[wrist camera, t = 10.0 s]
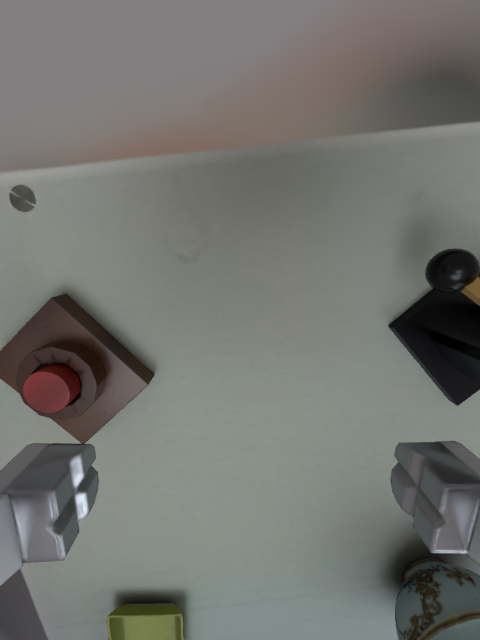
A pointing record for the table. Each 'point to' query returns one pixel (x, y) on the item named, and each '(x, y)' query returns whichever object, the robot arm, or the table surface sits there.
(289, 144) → the table surface
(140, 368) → the button block
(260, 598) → the table surface
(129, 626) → the green square tray
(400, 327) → the bracket
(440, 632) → the bowl
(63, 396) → the button
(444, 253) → the lever
